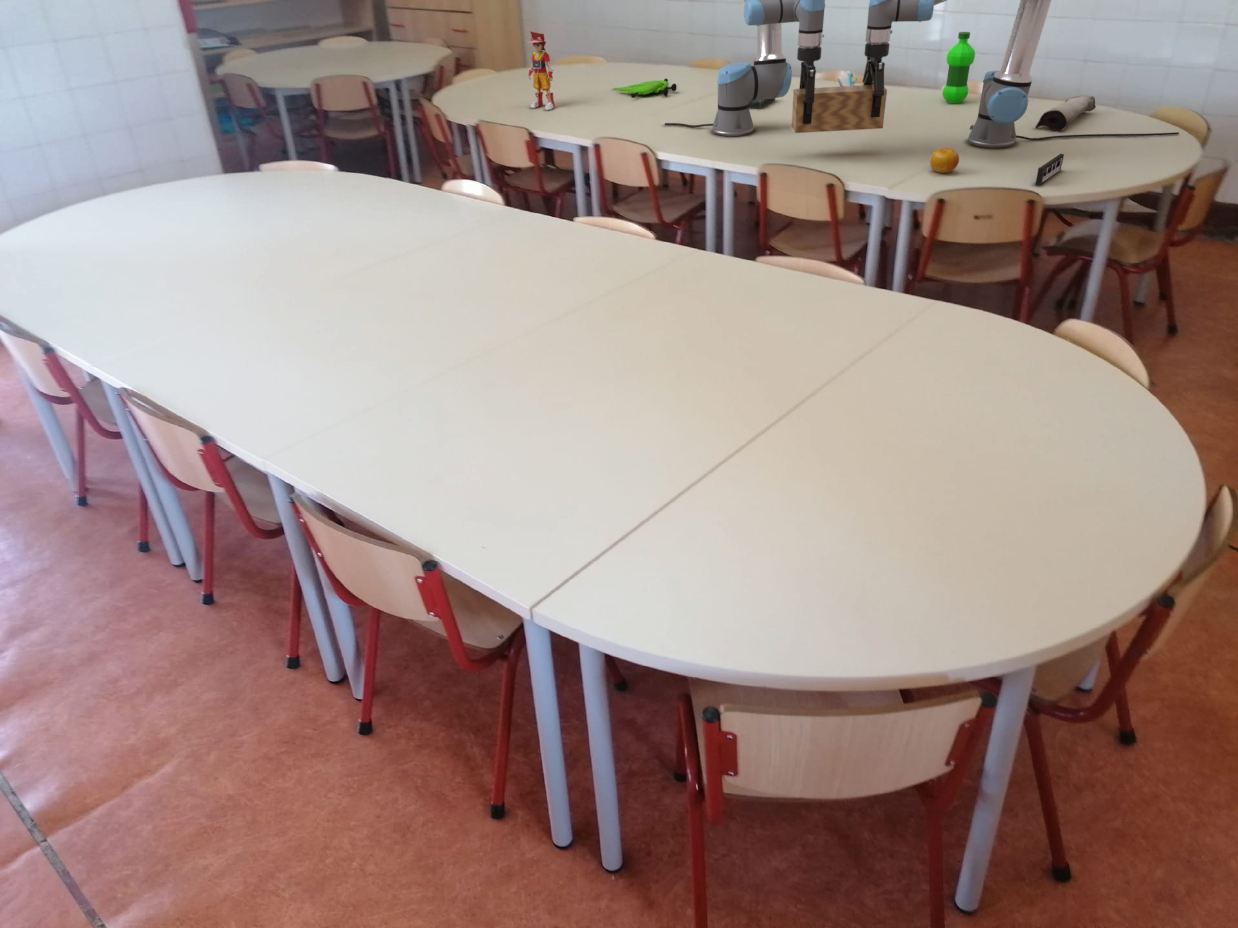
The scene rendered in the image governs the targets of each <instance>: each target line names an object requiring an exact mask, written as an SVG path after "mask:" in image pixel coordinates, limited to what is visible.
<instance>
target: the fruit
mask: <svg viewBox="0 0 1238 928" xmlns="http://www.w3.org/2000/svg"><path fill="white" fill-rule="evenodd" d="M959 163H960V156H959V154H958V152H957V151H956V150H955V149H953V148H951V147H942V148H938V149H936V150H934V151H933V153H932V154H931V155H930V159H929V166H930V168H931V169H932V170H933V171H934V172H936V173H939V174H940V173H943V174H944V173H945V174H946V173H951V172H953V171H954V170H956V168H957V167H958V165H959Z"/></svg>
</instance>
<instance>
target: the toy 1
mask: <svg viewBox="0 0 1238 928" xmlns="http://www.w3.org/2000/svg"><path fill="white" fill-rule="evenodd" d="M529 33H530V35H531V36H528V37H527V38H528V39H529V40H528V41H527V43H529V44H530V43H531V44H532V48H533V50H534V51H533V52H532V55H531V58H530V59H531V63H530V66H528V74H527V75H528V76H527V77H528V79H529V80H531V75H532V74H533V84H532V85H533V86H532V87H533V88H534V89H535V90H536V92H534V95H535V97H536V100H535V101H533V102H531V105H530V108H531V109H535V108H538V107H542V106H544V101H543V100H544V99H543V95H544V92H546V94H545V97H546V99H547V103H546V104H545V106H544V110H546V111H549V110H553V109H554V107H555V106H556V105H555V99H554V92H551V91H550V90H551V86H552V84H551V82H552V81H553V80H554V77H553V73H554V71H555V70H554V69H552V68H551V63H550V61H551V59H550V58H551V57H550V54H549V53H548V52H547V50H546V48H545V46H546V44H547V41H545V35H544V33H543V32H542V33H539V32H535V31H529Z"/></svg>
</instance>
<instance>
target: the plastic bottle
mask: <svg viewBox="0 0 1238 928" xmlns="http://www.w3.org/2000/svg"><path fill="white" fill-rule="evenodd" d="M970 36H971V32H970V31H959V32H958V36H957V39H958V42H957V43H956V44H954V45H953V46H952V47H951V48H950V49H949V50H948V52H947V54H946V63H947V64H948V69H947V70H948V71H947V76H946V77H947V78H946V84H945V85H944V87H943V90H942V97H943V99H944V100H945V101H946V102H947V103H948V104H960V103H961V102H963V101H964V100H966V98H967V96H968V95H969V85H968V79H969V73H970V67H971V65H972V64H973V63H974V61H975V57H976V51H975V49H974V47H972V45H971V44H970V43H969V42H968V41H969V39H970V38H971V37H970Z"/></svg>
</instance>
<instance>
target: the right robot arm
mask: <svg viewBox="0 0 1238 928" xmlns="http://www.w3.org/2000/svg"><path fill="white" fill-rule="evenodd" d="M947 1H948V0H869V2H868V12H867V23H866V30H865V31H866V32H865V42H866V43H865V45H864V53H863V54H864V56H865V57H866V64H865V68H864V72H863V77H862V84H864V85H873V88H874V94H872V97H873V100H872V109H871V118H872V117H880V108H881V99H882V96H883V95H884V87H885V66H886V64H885V62H883V58H886V57H888V56H889V53H890V43H889V42H890V40H891V34H893V30H892V24H893V23H898V22H919V23H921V22H929V21H931V19H933V15H934V8H935V6H937V5H940V4H942V3H944V2H947ZM1051 3H1052V0H1020V1H1019V4H1018V8H1017V11H1016V14H1015V18H1014V22H1013V26H1012V29H1011V33H1010V36H1009V40H1008V43H1007V46H1006V50H1005V53H1004V57H1003V60H1002V63H1001V66H1000V69H999V70H989V71H987V72H986V73H985V74H984V76H983V77H984V78H983V80H982V83H983V84H982V89H981V94H980V100H979V107H978V114H977V118H976V120H975V123H974V124H972V125H970V126H969V127H970V128H969V131H970V130H971V131H970V132H969V134H968V138H967V142H968V144H970V145H972V146H974V147H977V148H983V149H1006V148H1009V147H1010V148H1011V147H1012V146H1015V144H1016V141H1017V139H1023V140H1026V141H1027V140H1028V141H1042V140H1050V139H1061V138H1063V139H1064V138H1081V137H1083V138H1084V137H1146V136H1149V137H1150V136H1152V137H1153V136H1174V135H1180V132H1154V133H1151V132H1150V133H1091V134H1090V133H1085V134H1063V135H1051V136H1043V137H1028V136H1024V135H1023V136H1021V135H1017V133H1016V126H1015V125H1016V124H1015V122H1017V121H1018V120H1020V119H1021V118H1022V117H1023V116H1024V115H1025V113H1026V111H1027V110H1028V106H1029V97H1028V95H1029V93H1030V89H1031V86H1032V83H1033V78H1032V77H1031V75H1030V72H1031V68H1032V66H1033V62H1034V59H1035V56H1036V53H1037V49H1038V46H1039V43H1040V39H1041V36H1042V33H1043V29H1044V25H1045V23H1046V19H1047V16H1048V13H1049V10H1050V7H1051Z"/></svg>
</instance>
